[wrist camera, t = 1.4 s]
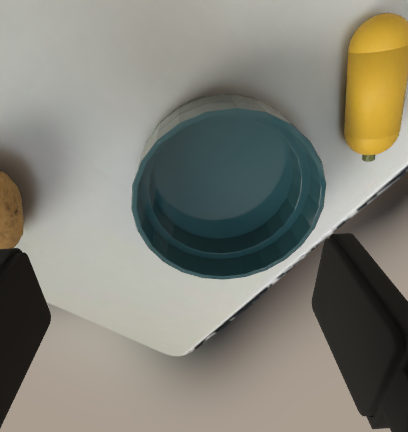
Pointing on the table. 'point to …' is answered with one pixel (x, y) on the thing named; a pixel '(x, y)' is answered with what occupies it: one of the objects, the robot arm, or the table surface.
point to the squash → (376, 84)
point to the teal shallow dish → (227, 188)
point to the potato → (10, 213)
